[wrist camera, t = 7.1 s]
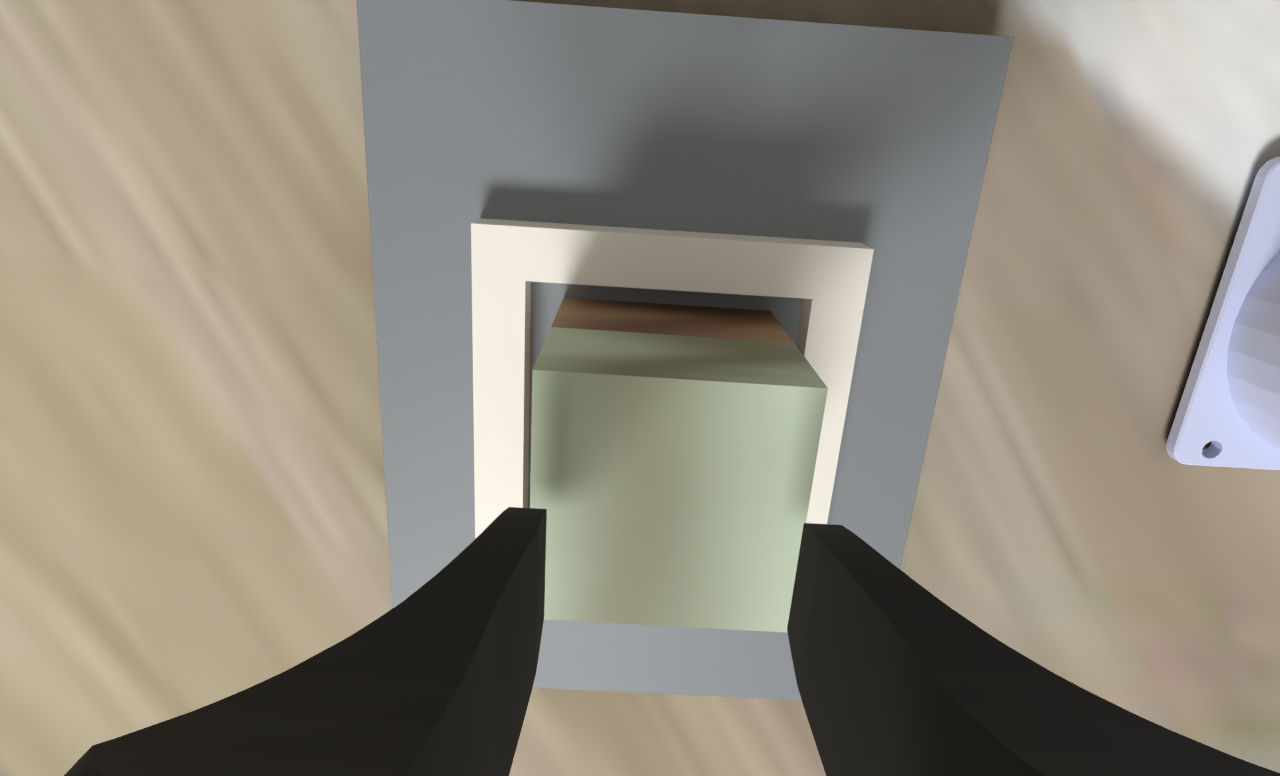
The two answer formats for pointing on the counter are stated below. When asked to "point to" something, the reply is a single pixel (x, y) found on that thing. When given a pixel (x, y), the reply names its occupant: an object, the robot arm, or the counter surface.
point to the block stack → (672, 464)
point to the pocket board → (659, 255)
